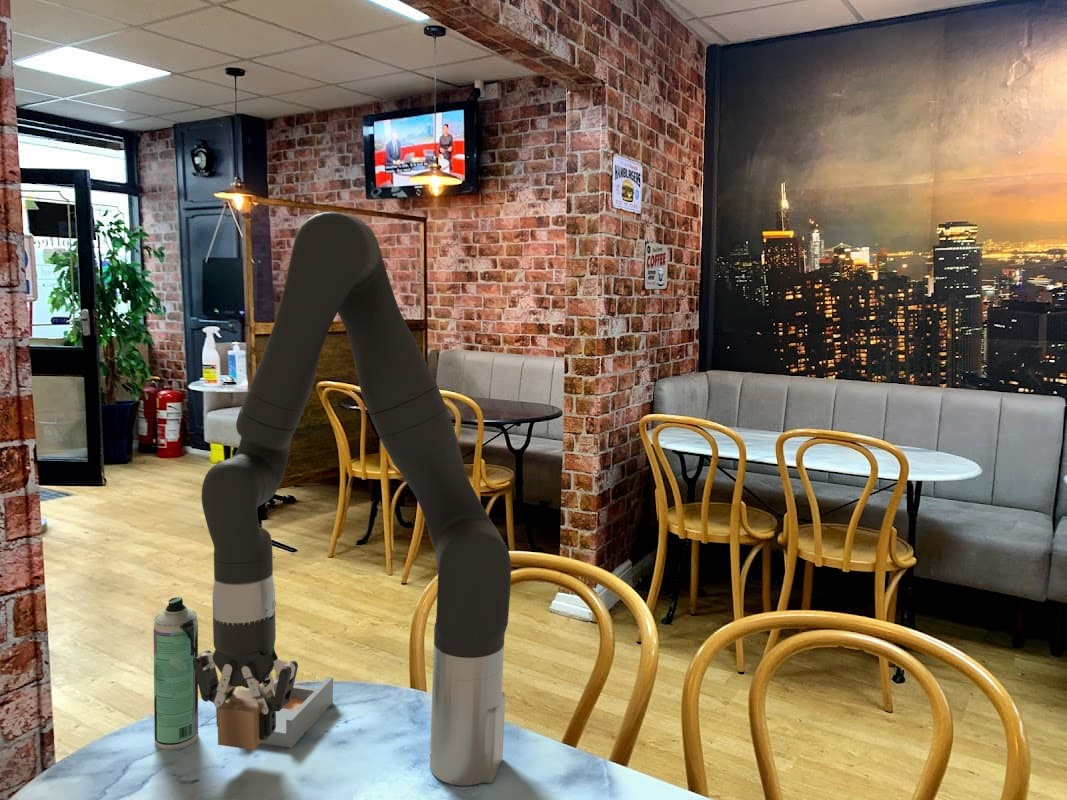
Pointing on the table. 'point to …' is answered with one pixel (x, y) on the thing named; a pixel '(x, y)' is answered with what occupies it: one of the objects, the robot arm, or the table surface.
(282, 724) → the channel
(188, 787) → the table surface
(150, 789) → the table surface
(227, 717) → the walnut block
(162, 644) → the spray can
